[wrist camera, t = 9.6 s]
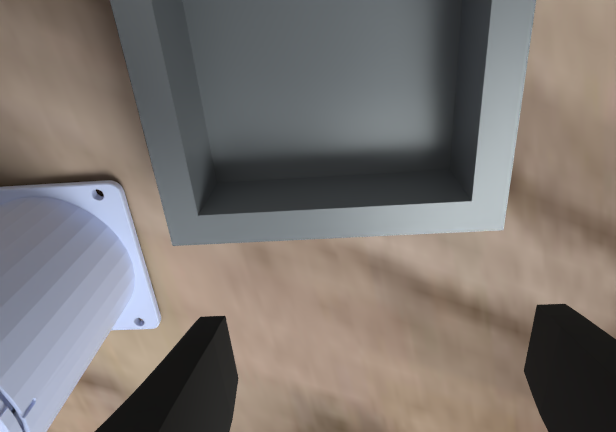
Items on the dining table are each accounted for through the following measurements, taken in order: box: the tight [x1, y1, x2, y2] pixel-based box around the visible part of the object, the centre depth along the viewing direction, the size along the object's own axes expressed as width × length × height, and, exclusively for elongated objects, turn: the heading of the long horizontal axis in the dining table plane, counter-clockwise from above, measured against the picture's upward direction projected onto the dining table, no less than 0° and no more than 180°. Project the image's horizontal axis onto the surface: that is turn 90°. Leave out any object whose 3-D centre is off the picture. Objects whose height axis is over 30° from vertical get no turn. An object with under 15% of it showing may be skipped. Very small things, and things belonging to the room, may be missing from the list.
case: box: [110, 0, 536, 246], centre depth 15 cm, size 12×10×4 cm
